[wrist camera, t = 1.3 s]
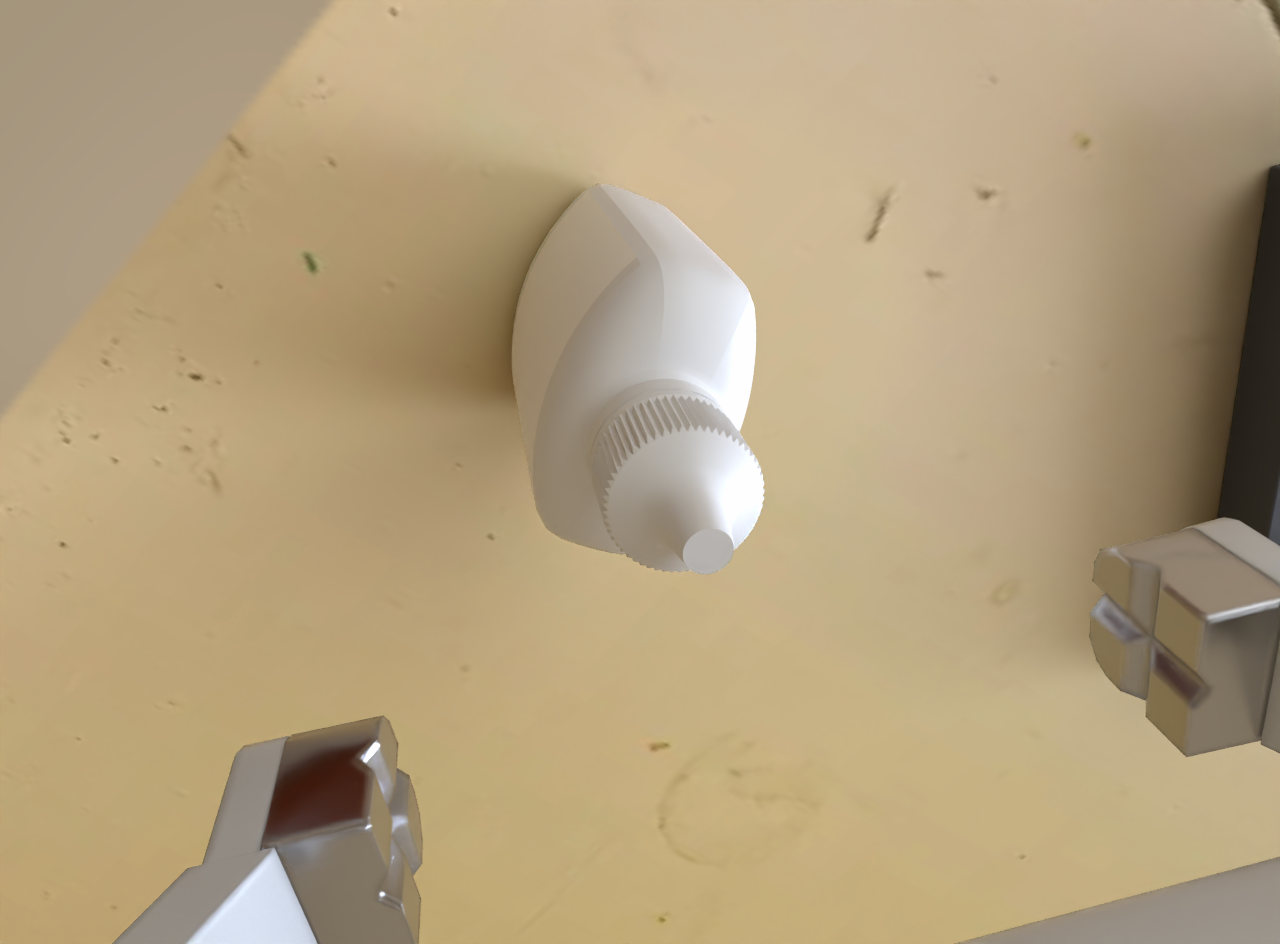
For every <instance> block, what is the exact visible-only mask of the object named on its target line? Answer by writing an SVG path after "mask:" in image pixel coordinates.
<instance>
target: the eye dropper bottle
mask: <svg viewBox="0 0 1280 944" xmlns="http://www.w3.org/2000/svg"><path fill="white" fill-rule="evenodd" d="M755 349H756V323H755V309H754V304H753V302H752V299H751V296H750V293H749V291H748V289H747V287H746V285H745V284H744V283H743V282H742V281H741V280H740V279H739V277H738V276H737V275H736V274H735V273H734V272H733V271H732V270H731V269H730V268H729V267H728V266H727V265H726V264H725V263H724V262H723V261H722V260H721V259H720V258H719V257H718V256H717V255H716V254H715V253H714V252H713V251H712V250H711V249H710V248H709V247H708V246H707V245H706V244H705V243H704V242H703V241H701V240H700V239H699V238H698V237H697V236H696V235H695V234H694V233H693V232H692V231H691V230H690V229H689V228H688V227H687V226H686V225H685V224H684V223H683V222H682V221H680V220H679V219H678V218H677V217H676V216H675V215H674V214H673V213H672V212H671V211H669V210H668V209H667V208H666V207H665V206H663V205H661V204H659V203H657V202H654V201H652V200H650V199H647V198H645V197H642V196H640V195H637V194H635V193H632V192H630V191H627V190H625V189H622V188H619V187H616V186H614V185H611V184H596V185H594V186H592V187H590V188H588V189H586V190H585V191H584V192H583V193H581V194H580V195H579V196H578V197H577V198H576V199H575V200H574V201H573V202H572V203H571V204H570V206H569V207H568V208H567V209H566V210H565V211H564V213H563V214H562V215H561V216H560V218H559V219H558V220H557V221H556V223H555V224H554V226H553V227H552V229H551V230H550V231H549V233H548V234H547V236H546V238H545V239H544V241H543V242H542V244H541V246H540V248H539V250H538V251H537V253H536V255H535V257H534V259H533V261H532V264H531V266H530V268H529V270H528V273H527V275H526V278H525V281H524V284H523V287H522V290H521V293H520V297H519V300H518V304H517V309H516V314H515V320H514V327H513V336H512V375H513V382H514V389H515V395H516V401H517V407H518V413H519V419H520V425H521V431H522V437H523V442H524V448H525V454H526V459H527V465H528V470H529V476H530V482H531V486H532V491H533V495H534V500H535V504H536V509H537V511H538V513H539V515H540V517H541V519H542V521H543V523H544V525H545V527H546V528H547V529H548V530H549V531H551V532H552V533H554V534H555V535H557V536H558V537H560V538H561V539H564V540H567V541H570V542H573V543H576V544H579V545H582V546H586V547H589V548H593V549H597V550H601V551H605V552H610V553H616V554H626V556H627V557H629V558H632V559H633V561H635V562H639V563H640V565H646V566H647V568H654V569H655V570H662V571H670V572H674V571H677V572H681V571H689V570H692V571H693V572H696V573H699V574H711V573H715V572H717V571H719V570H721V569H722V568H724V567H725V566H726V565H727V564H728V563H729V561H730V560H731V558H732V556H733V552H734V549H735V548H737V547H739V545H740V543H742V542H743V541H745V538H746V537H747V536H748V535H749V534H750V531H751V530H752V529H753V528H754V524H755V523H756V522H757V521H758V520H757V517H758V516H759V515H760V513H761V512H760V509H761V508H762V506H763V505H762V501H763V499H764V497H763V493H764V491H765V490H764V488H763V485H764V481H763V480H762V477H763V474H762V473H761V471H760V470H761V467H760V466H759V464H758V460H757V459H756V457H755V456H754V454H753V452H752V451H751V449H750V448H749V446H748V445H747V443H746V442H745V440H744V439H743V437H742V436H741V434H740V433H739V431H740V428H741V426H742V423H743V420H744V416H745V412H746V409H747V405H748V401H749V396H750V391H751V386H752V380H753V372H754V362H755Z"/></svg>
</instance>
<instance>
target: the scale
mask: <svg viewBox="0 0 1280 944" xmlns="http://www.w3.org/2000/svg"><path fill="white" fill-rule="evenodd" d="M1223 517H1225V518H1230V519H1235V520H1239V521H1241V522H1242V523H1244V524H1246V525H1247V526H1249V527H1250V528H1252V529H1253V530H1255V531H1257V532H1258V533H1260V534H1261V535H1263V536H1265V537H1266V538H1268V539H1269V540H1271V541H1272V542H1274V543H1276V544H1277V545H1279V546H1280V164H1279V165H1275V166H1272V167H1271V168H1270V174H1269V181H1268V187H1267V194H1266V201H1265V207H1264V214H1263V221H1262V227H1261V234H1260V241H1259V247H1258V254H1257V261H1256V267H1255V274H1254V281H1253V287H1252V294H1251V301H1250V307H1249V314H1248V321H1247V327H1246V334H1245V341H1244V347H1243V354H1242V361H1241V367H1240V374H1239V381H1238V387H1237V394H1236V401H1235V407H1234V414H1233V421H1232V427H1231V434H1230V441H1229V447H1228V454H1227V461H1226V467H1225V474H1224V481H1223V487H1222V494H1221V501H1220V507H1219V514H1218V519H1219V518H1223Z"/></svg>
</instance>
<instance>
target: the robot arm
mask: <svg viewBox="0 0 1280 944" xmlns="http://www.w3.org/2000/svg"><path fill="white" fill-rule="evenodd" d="M1092 581H1093V582H1094V583H1095V584H1096V585H1097V586H1098V587H1099V589H1100V590H1101V591H1102V592H1103V593H1104V594H1103V595H1102V597H1101V598H1100V600H1099V601H1098V602H1097V604H1096V605H1095V607H1094V608H1093V609H1092V611H1091V612H1090V633H1089V637H1090V641H1091V644H1092V647H1093V651H1094V654H1095V657H1096V660H1097V662H1098V663H1099V665H1100V667H1101V668H1102V670H1103V672H1104V673H1105V675H1106V676H1107V677H1108V678H1109V680H1110V681H1111V682H1112V683H1113V684H1114V685H1115V686H1116V687H1117V688H1118V689H1119V690H1120V691H1122V692H1125V693H1127V694H1130V695H1133V696H1135V697H1138V698H1141V699H1143V700H1146V717H1147V718H1148V719H1149V720H1150V721H1151V722H1152V723H1153V724H1154V725H1155V726H1156V727H1157V728H1158V729H1159V730H1160V731H1161V732H1162V733H1163V734H1164V735H1165V736H1166V737H1167V738H1168V739H1169V740H1170V741H1171V742H1172V743H1173V744H1174V745H1175V746H1176V747H1177V748H1178V749H1179V750H1180V751H1181V752H1182V753H1183V754H1184V755H1185V756H1186V757H1189V756H1194V755H1198V754H1203V753H1207V752H1211V751H1216V750H1220V749H1225V748H1229V747H1234V746H1238V745H1243V744H1247V743H1251V742H1256V741H1260V740H1261V745H1263V746H1266V747H1268V748H1270V749H1272V750H1274V751H1276V752H1278V753H1280V546H1279V545H1277V544H1276V543H1274V542H1272V541H1271V540H1269V539H1268V538H1266V537H1265V536H1263V535H1261V534H1260V533H1258V532H1257V531H1255V530H1253V529H1252V528H1250V527H1249V526H1247V525H1246V524H1244V523H1242V522H1241V521H1239V520H1235V519H1230V518H1225V517H1223V518H1219V519H1216V520H1212V521H1208V522H1204V523H1200V524H1197V525H1193V526H1189V527H1185V528H1183V529H1182V530H1179V531H1175V532H1171V533H1167V534H1162V535H1158V536H1154V537H1150V538H1146V539H1141V540H1137V541H1133V542H1129V543H1125V544H1120V545H1116V546H1112V547H1108V548H1104V549H1100V551H1099V553H1098V555H1097V557H1096V559H1095V561H1094V569H1093V580H1092ZM397 757H398V742H397V739H396V737H395V734H394V732H393V729H392V726H391V724H390V721H389V720H388V719H387V718H386V717H384V716H379V717H374V718H369V719H364V720H360V721H355V722H350V723H345V724H341V725H336V726H331V727H326V728H322V729H317V730H312V731H307V732H303V733H298V734H293V735H291V736H290V737H288V736H285V737H281V738H276V739H272V740H267V741H263V742H259V743H254V744H250V745H245V746H243V747H242V748H241V749H240V750H239V751H238V752H237V753H236V755H235V757H234V760H233V763H232V767H231V770H230V773H229V777H228V780H227V783H226V787H225V790H224V793H223V796H222V800H221V803H220V806H219V810H218V813H217V816H216V820H215V823H214V826H213V829H212V833H211V836H210V839H209V843H208V846H207V849H206V853H205V856H204V859H203V862H202V865H199V866H195V867H191V868H187V869H186V870H185V871H184V872H183V873H182V874H181V875H180V876H179V877H178V878H177V879H176V880H175V881H174V882H173V883H172V884H171V885H170V886H169V887H168V888H167V889H166V890H165V891H164V892H163V893H162V894H161V895H160V896H159V897H158V898H157V899H156V900H155V901H154V902H153V903H152V904H151V905H150V906H149V907H148V908H147V909H146V910H145V911H144V912H143V913H142V914H141V915H140V916H139V917H138V918H137V919H136V920H135V921H134V922H133V923H132V924H131V925H130V926H129V927H128V928H127V929H126V930H125V931H124V932H123V933H122V934H121V935H120V936H119V937H118V938H117V939H116V940H115V941H114V942H113V943H112V944H419V929H420V907H421V897H420V894H419V892H418V889H417V886H416V883H415V880H414V878H413V875H414V874H415V873H416V871H417V870H418V869H419V867H420V866H421V864H422V850H423V839H422V830H421V820H420V812H419V808H418V804H417V799H416V795H415V791H414V788H413V785H412V782H411V779H410V776H409V775H408V774H406V773H404V772H403V771H401V770H399V769H398V768H397ZM955 944H1280V857H1277V858H1273V859H1269V860H1265V861H1262V862H1258V863H1254V864H1250V865H1247V866H1243V867H1239V868H1235V869H1232V870H1228V871H1224V872H1220V873H1217V874H1213V875H1209V876H1205V877H1202V878H1198V879H1194V880H1190V881H1187V882H1183V883H1179V884H1175V885H1172V886H1168V887H1164V888H1160V889H1157V890H1153V891H1149V892H1145V893H1142V894H1138V895H1134V896H1130V897H1127V898H1123V899H1119V900H1115V901H1112V902H1108V903H1104V904H1100V905H1097V906H1093V907H1089V908H1085V909H1082V910H1078V911H1074V912H1070V913H1067V914H1063V915H1059V916H1055V917H1052V918H1048V919H1044V920H1041V921H1037V922H1033V923H1029V924H1026V925H1022V926H1018V927H1015V928H1011V929H1007V930H1003V931H1000V932H996V933H992V934H988V935H985V936H981V937H977V938H974V939H970V940H966V941H962V942H959V943H955Z"/></svg>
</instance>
